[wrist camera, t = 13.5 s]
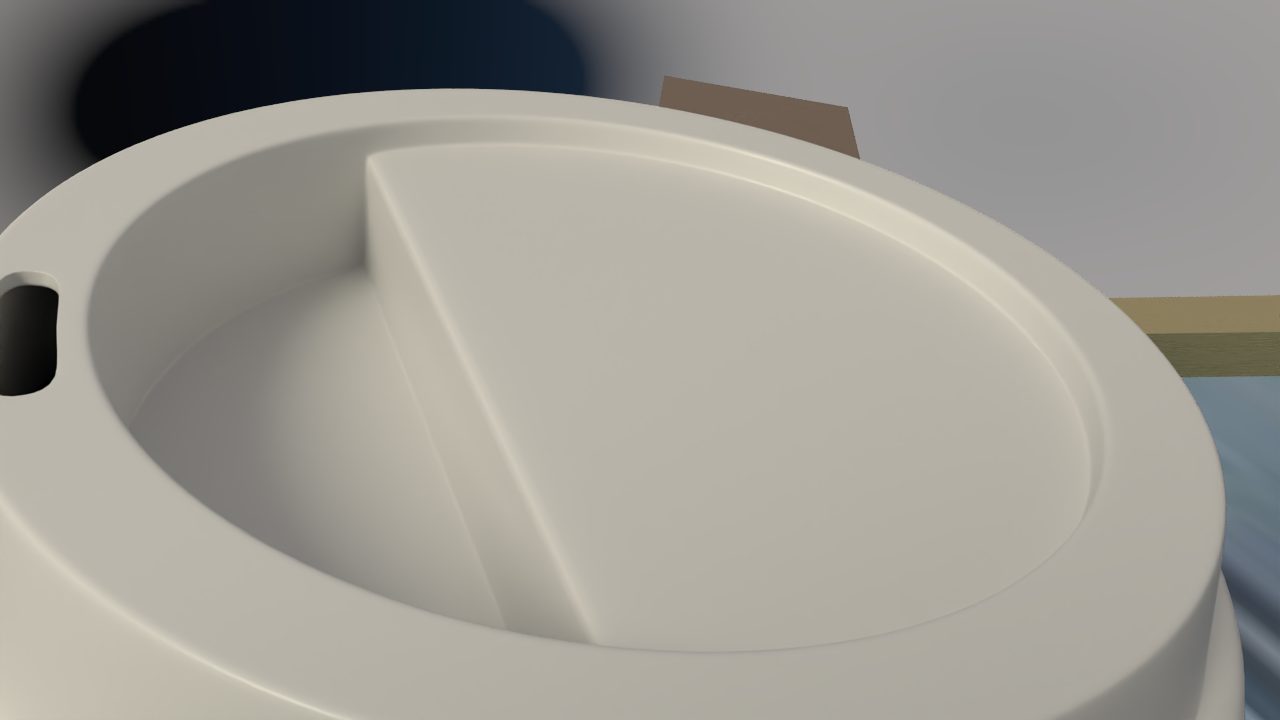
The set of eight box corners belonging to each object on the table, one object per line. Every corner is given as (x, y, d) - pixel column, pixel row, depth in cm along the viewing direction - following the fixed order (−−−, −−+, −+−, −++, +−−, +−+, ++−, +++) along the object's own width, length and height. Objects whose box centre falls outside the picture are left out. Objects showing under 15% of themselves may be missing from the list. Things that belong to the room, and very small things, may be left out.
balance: (1310, 750, 28) (1658, 220, 21) (1441, 1000, 22) (1966, 408, 15) (508, 617, 27) (583, 34, 20) (454, 840, 22) (529, 161, 15)
